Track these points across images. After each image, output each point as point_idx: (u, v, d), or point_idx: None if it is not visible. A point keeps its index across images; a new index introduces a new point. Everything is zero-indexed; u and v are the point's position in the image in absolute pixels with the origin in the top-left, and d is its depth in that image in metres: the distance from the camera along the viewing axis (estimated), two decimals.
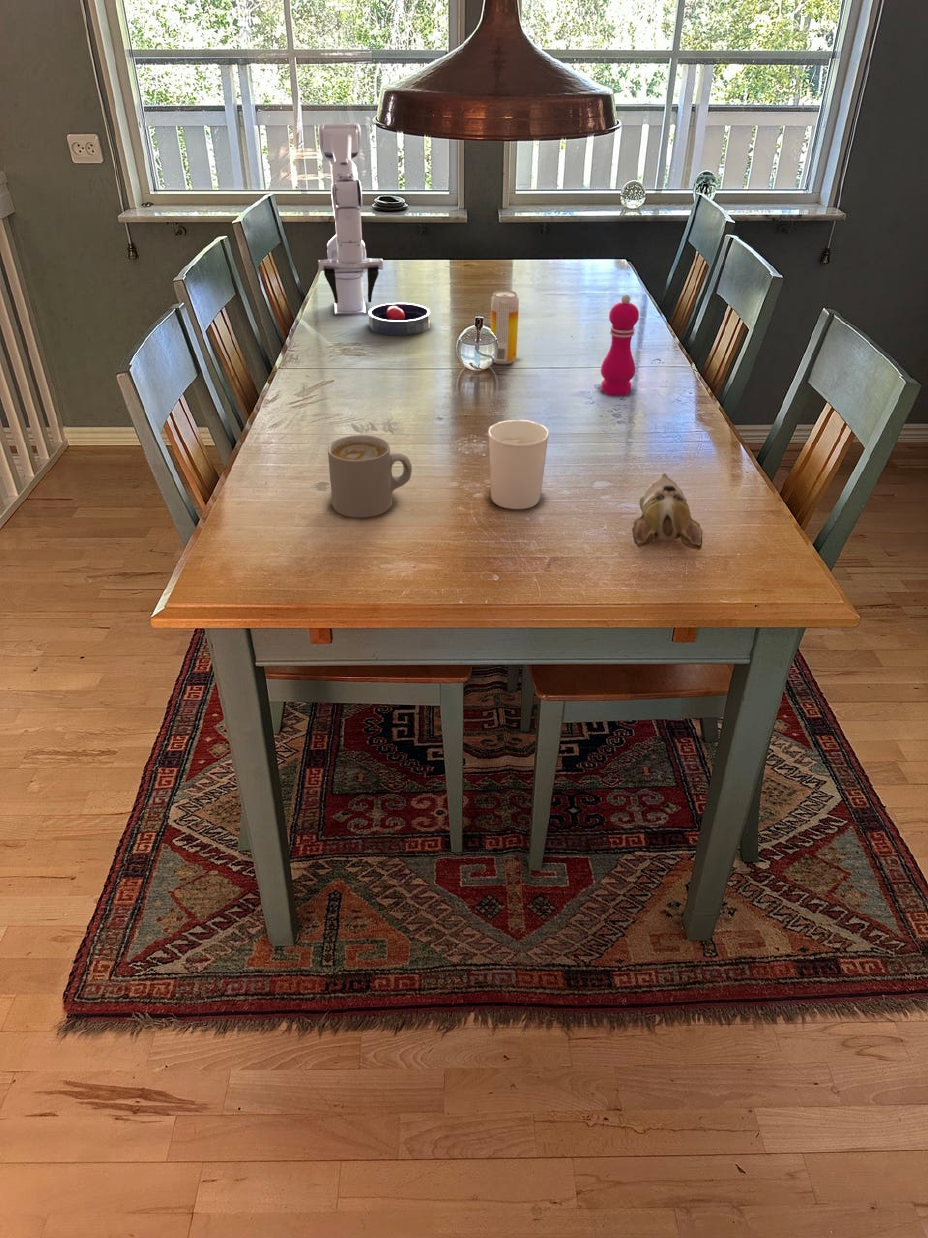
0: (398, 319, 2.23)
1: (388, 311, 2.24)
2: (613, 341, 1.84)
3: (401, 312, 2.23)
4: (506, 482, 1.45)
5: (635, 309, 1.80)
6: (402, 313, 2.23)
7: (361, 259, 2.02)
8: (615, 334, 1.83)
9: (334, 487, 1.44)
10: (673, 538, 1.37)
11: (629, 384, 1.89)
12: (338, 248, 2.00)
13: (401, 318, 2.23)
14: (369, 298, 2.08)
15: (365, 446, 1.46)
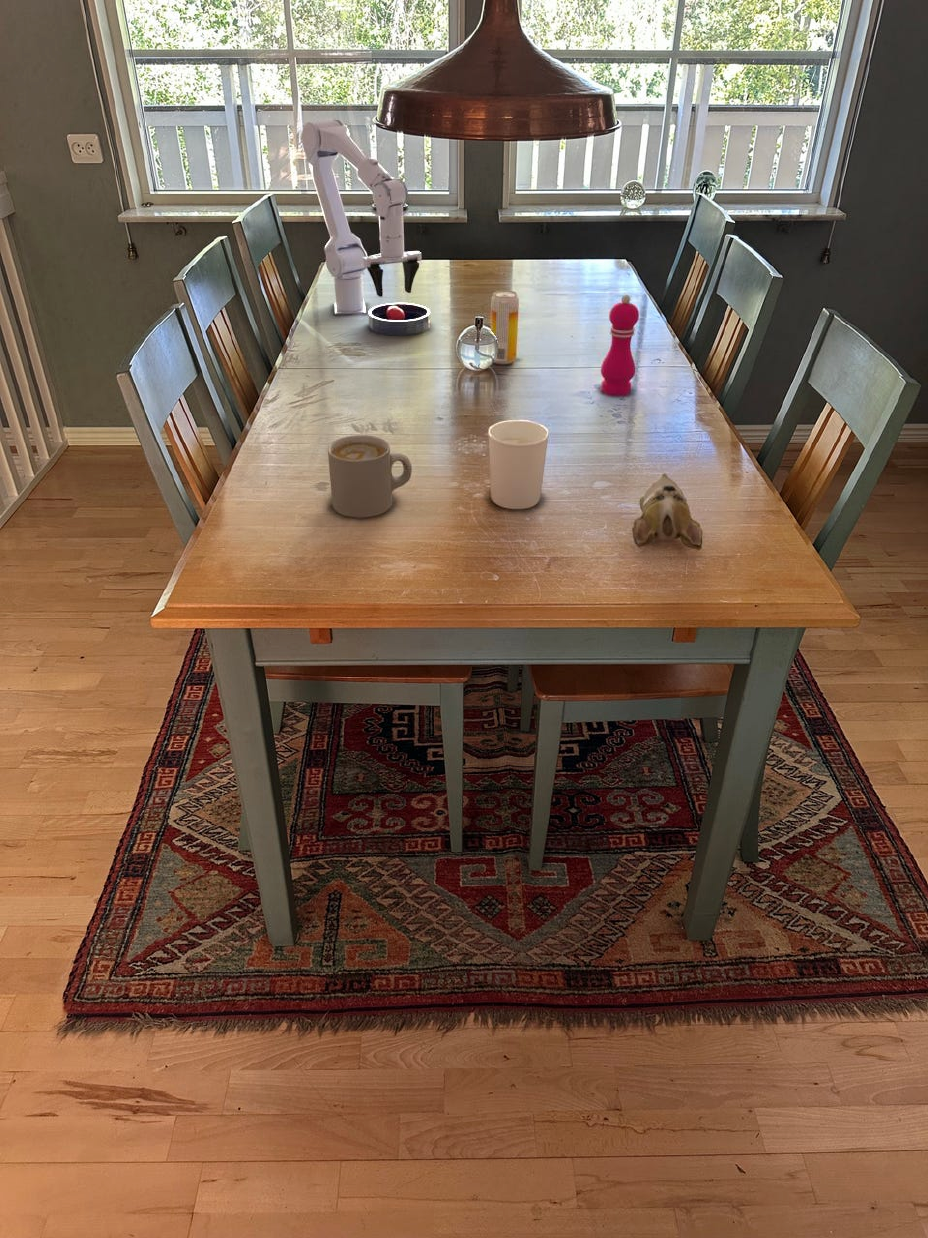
0: (398, 319, 2.23)
1: (388, 311, 2.24)
2: (613, 341, 1.84)
3: (401, 312, 2.23)
4: (506, 482, 1.45)
5: (635, 309, 1.80)
6: (402, 313, 2.23)
7: (403, 253, 2.16)
8: (615, 334, 1.83)
9: (334, 487, 1.44)
10: (673, 538, 1.37)
11: (629, 384, 1.89)
12: (384, 244, 2.13)
13: (401, 318, 2.23)
14: (409, 289, 2.22)
15: (365, 446, 1.46)
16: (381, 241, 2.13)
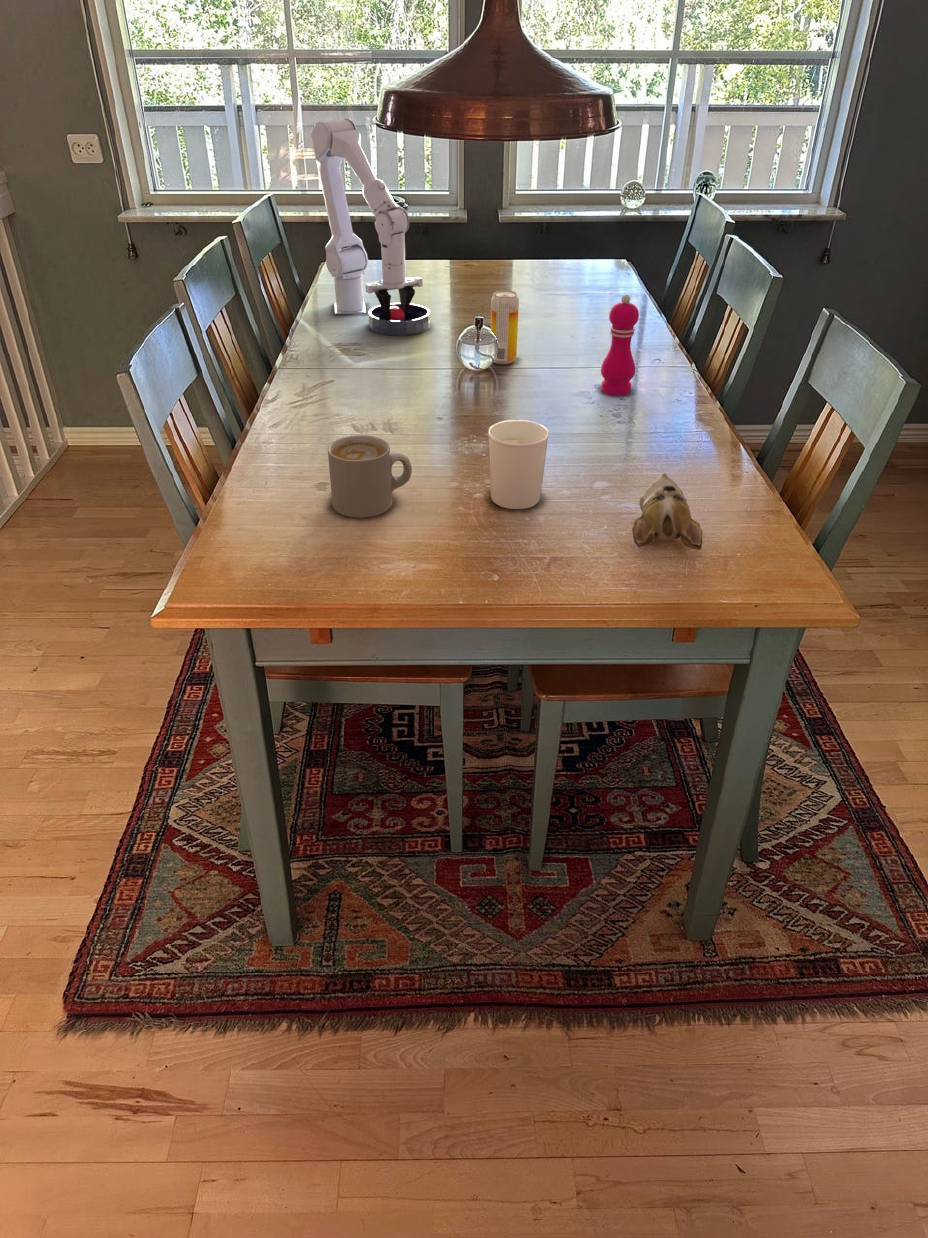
0: (398, 319, 2.23)
1: None
2: (613, 341, 1.84)
3: (401, 312, 2.23)
4: (506, 482, 1.45)
5: (635, 309, 1.80)
6: (402, 313, 2.23)
7: (405, 279, 2.20)
8: (615, 334, 1.83)
9: (334, 487, 1.44)
10: (673, 538, 1.37)
11: (629, 384, 1.89)
12: (386, 271, 2.17)
13: (401, 318, 2.23)
14: (405, 315, 2.25)
15: (365, 446, 1.46)
16: (383, 268, 2.17)
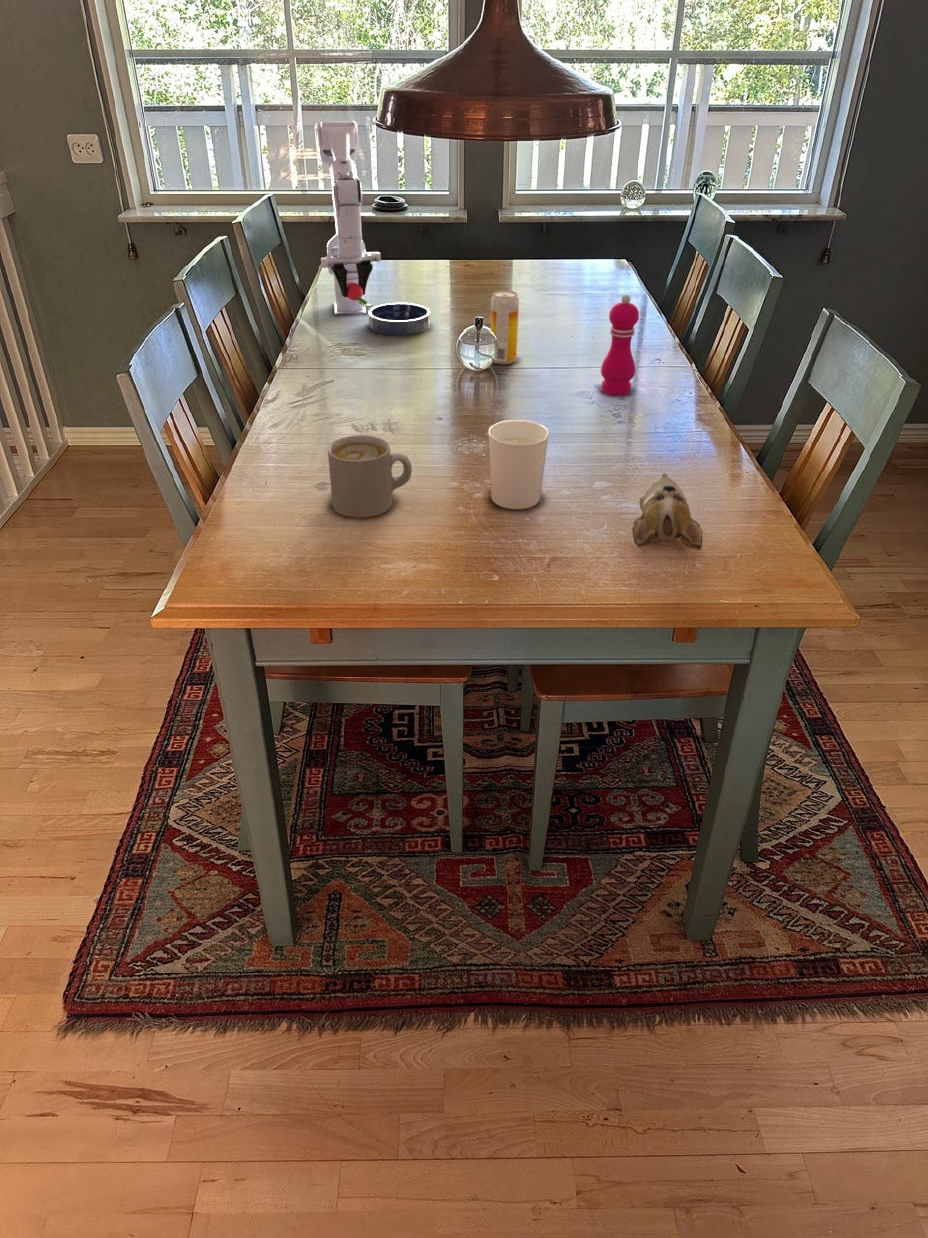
0: (356, 295, 2.16)
1: None
2: (613, 341, 1.84)
3: (359, 288, 2.16)
4: (506, 482, 1.45)
5: (635, 309, 1.80)
6: (360, 289, 2.16)
7: (362, 253, 2.12)
8: (615, 334, 1.83)
9: (334, 487, 1.44)
10: (673, 538, 1.37)
11: (629, 384, 1.89)
12: (341, 244, 2.09)
13: (359, 294, 2.16)
14: (363, 291, 2.18)
15: (365, 446, 1.46)
16: (339, 241, 2.10)
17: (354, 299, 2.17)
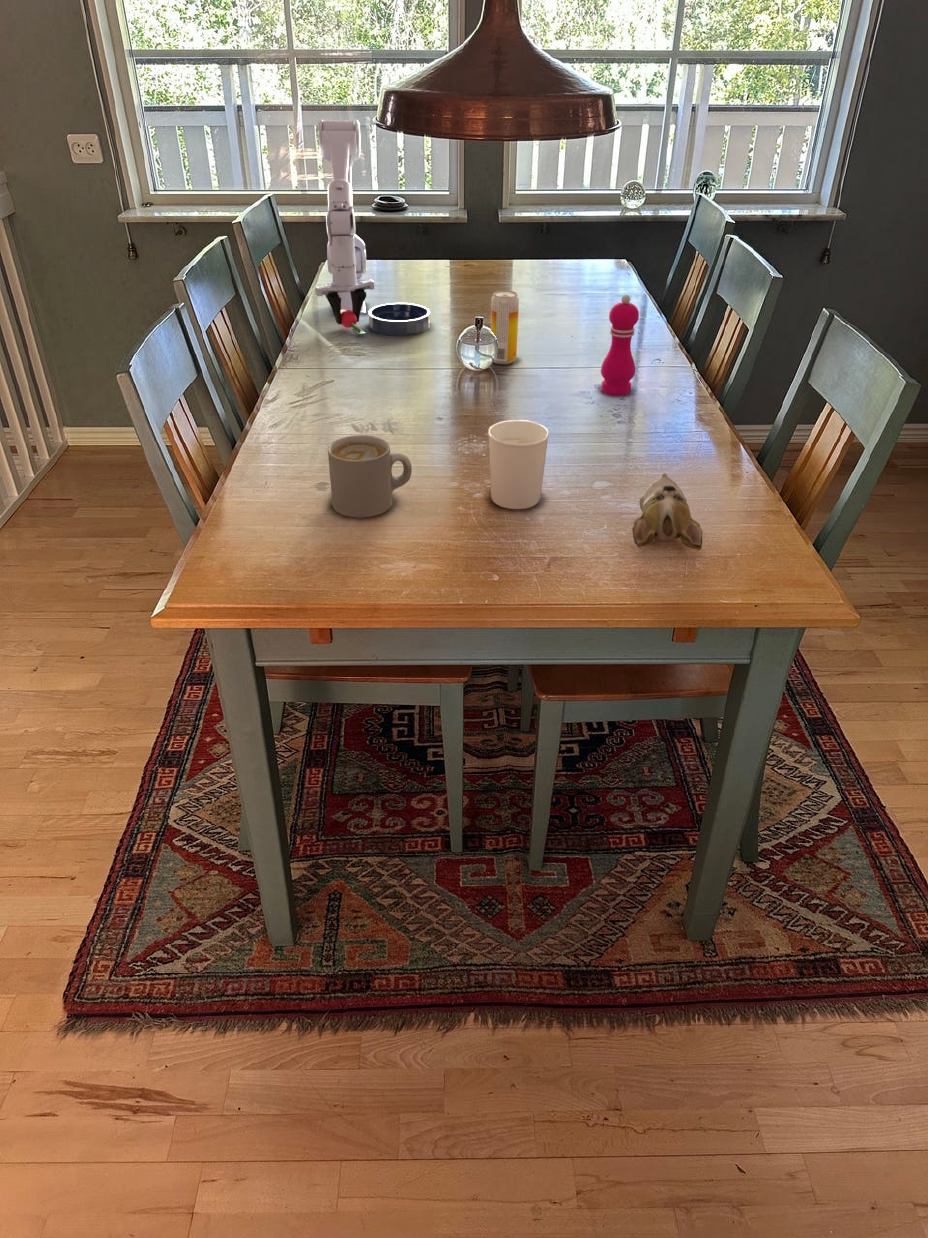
0: (350, 322, 2.19)
1: None
2: (613, 341, 1.84)
3: (353, 315, 2.19)
4: (506, 482, 1.45)
5: (635, 309, 1.80)
6: (354, 316, 2.19)
7: (356, 281, 2.16)
8: (615, 334, 1.83)
9: (334, 487, 1.44)
10: (673, 538, 1.37)
11: (629, 384, 1.89)
12: (335, 273, 2.12)
13: (353, 321, 2.19)
14: (357, 318, 2.21)
15: (365, 446, 1.46)
16: (333, 270, 2.13)
17: (348, 326, 2.20)
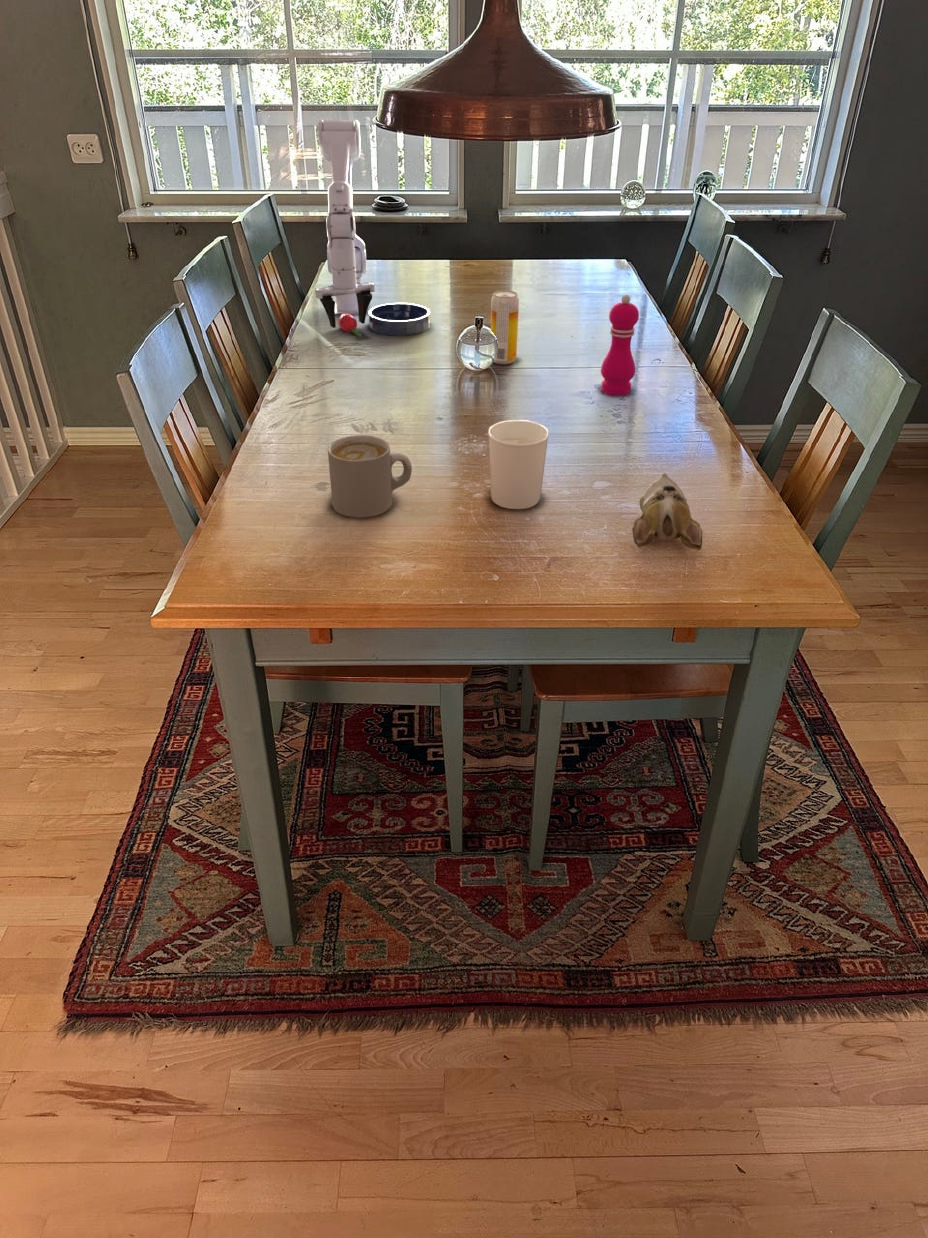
0: (350, 327, 2.19)
1: (340, 319, 2.20)
2: (613, 341, 1.84)
3: (353, 320, 2.19)
4: (506, 482, 1.45)
5: (635, 309, 1.80)
6: (354, 321, 2.19)
7: (356, 284, 2.16)
8: (615, 334, 1.83)
9: (334, 487, 1.44)
10: (673, 538, 1.37)
11: (629, 384, 1.89)
12: (335, 276, 2.13)
13: (353, 325, 2.19)
14: (363, 319, 2.22)
15: (365, 446, 1.46)
16: (333, 273, 2.13)
17: (348, 331, 2.20)
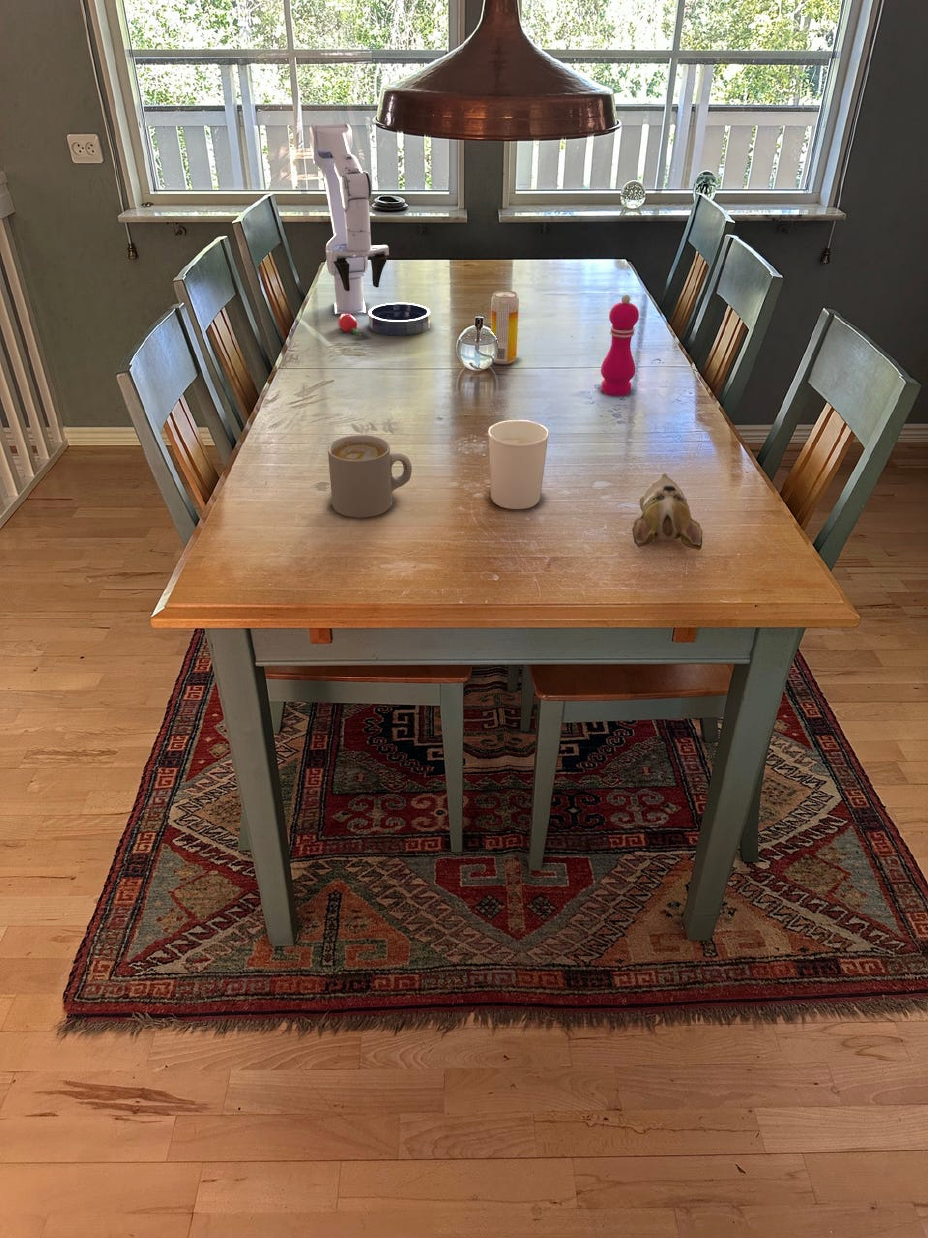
0: (350, 327, 2.19)
1: (340, 319, 2.20)
2: (613, 341, 1.84)
3: (353, 320, 2.19)
4: (506, 482, 1.45)
5: (635, 309, 1.80)
6: (354, 321, 2.19)
7: (370, 247, 2.14)
8: (615, 334, 1.83)
9: (334, 487, 1.44)
10: (673, 538, 1.37)
11: (629, 384, 1.89)
12: (350, 238, 2.11)
13: (353, 325, 2.19)
14: (377, 283, 2.20)
15: (365, 446, 1.46)
16: (347, 235, 2.11)
17: (348, 331, 2.20)
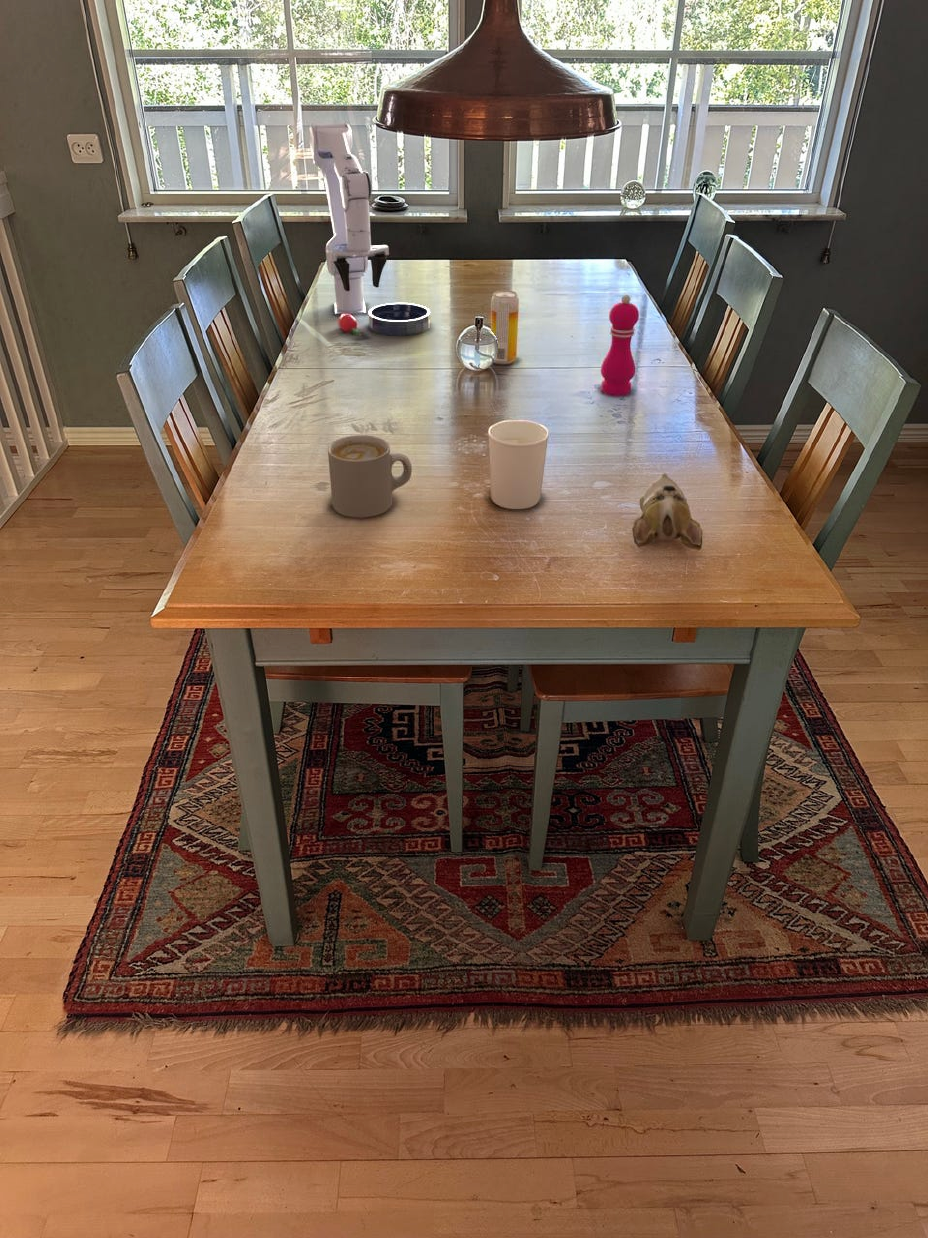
0: (350, 327, 2.19)
1: (340, 319, 2.20)
2: (613, 341, 1.84)
3: (353, 320, 2.19)
4: (506, 482, 1.45)
5: (635, 309, 1.80)
6: (354, 321, 2.19)
7: (370, 247, 2.14)
8: (615, 334, 1.83)
9: (334, 487, 1.44)
10: (673, 538, 1.37)
11: (629, 384, 1.89)
12: (350, 238, 2.11)
13: (353, 325, 2.19)
14: (377, 283, 2.20)
15: (365, 446, 1.46)
16: (347, 235, 2.11)
17: (348, 331, 2.20)
